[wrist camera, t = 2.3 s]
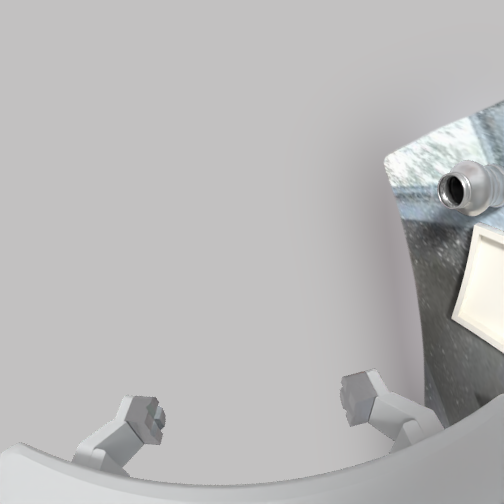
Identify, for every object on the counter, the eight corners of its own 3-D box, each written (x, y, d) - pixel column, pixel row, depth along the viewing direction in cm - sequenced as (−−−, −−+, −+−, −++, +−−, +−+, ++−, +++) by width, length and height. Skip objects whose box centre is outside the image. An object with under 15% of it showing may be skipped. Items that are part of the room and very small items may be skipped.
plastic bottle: (477, 188, 32) (417, 197, 25) (493, 155, 27) (440, 146, 21) (502, 214, 28) (456, 237, 22) (521, 181, 23) (487, 184, 17)
